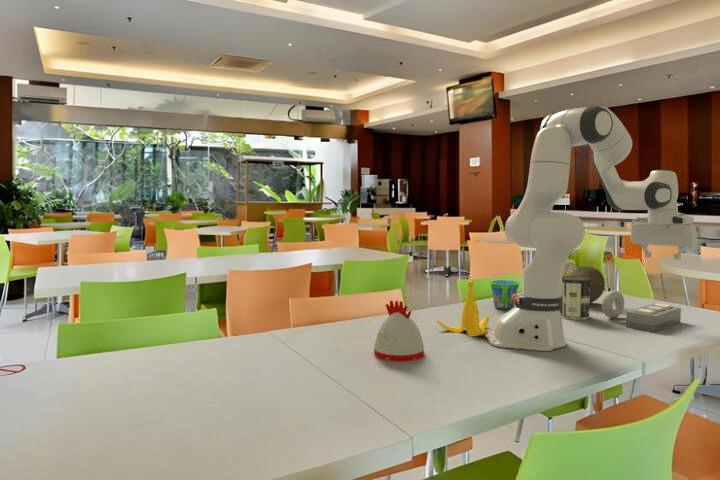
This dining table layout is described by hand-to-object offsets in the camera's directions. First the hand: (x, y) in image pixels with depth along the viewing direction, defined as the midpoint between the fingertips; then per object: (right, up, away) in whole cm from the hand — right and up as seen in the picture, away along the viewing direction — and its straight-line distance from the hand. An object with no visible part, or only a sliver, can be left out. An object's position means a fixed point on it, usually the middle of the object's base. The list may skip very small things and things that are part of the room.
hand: (662, 258), depth 179 cm
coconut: (-13, -20, +31) cm, 39 cm away
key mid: (-4, -19, -3) cm, 19 cm away
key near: (-9, -19, -7) cm, 22 cm away
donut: (-14, -22, +7) cm, 27 cm away
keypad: (-4, -22, -2) cm, 23 cm away
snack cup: (-47, -21, +25) cm, 57 cm away
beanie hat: (-92, -26, -32) cm, 101 cm away
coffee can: (-26, -22, +10) cm, 35 cm away
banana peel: (-70, -24, -9) cm, 75 cm away
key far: (+1, -18, +1) cm, 18 cm away
